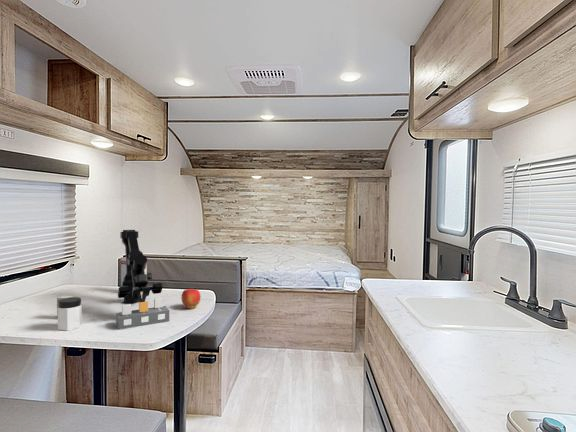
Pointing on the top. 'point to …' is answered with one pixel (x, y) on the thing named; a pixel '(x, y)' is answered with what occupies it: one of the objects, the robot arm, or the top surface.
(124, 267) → the cracker box
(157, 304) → the tab
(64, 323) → the jar
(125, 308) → the tab
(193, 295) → the apple
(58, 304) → the skincare box
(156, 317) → the grey cube slider board
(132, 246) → the robot arm
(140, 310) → the tab
